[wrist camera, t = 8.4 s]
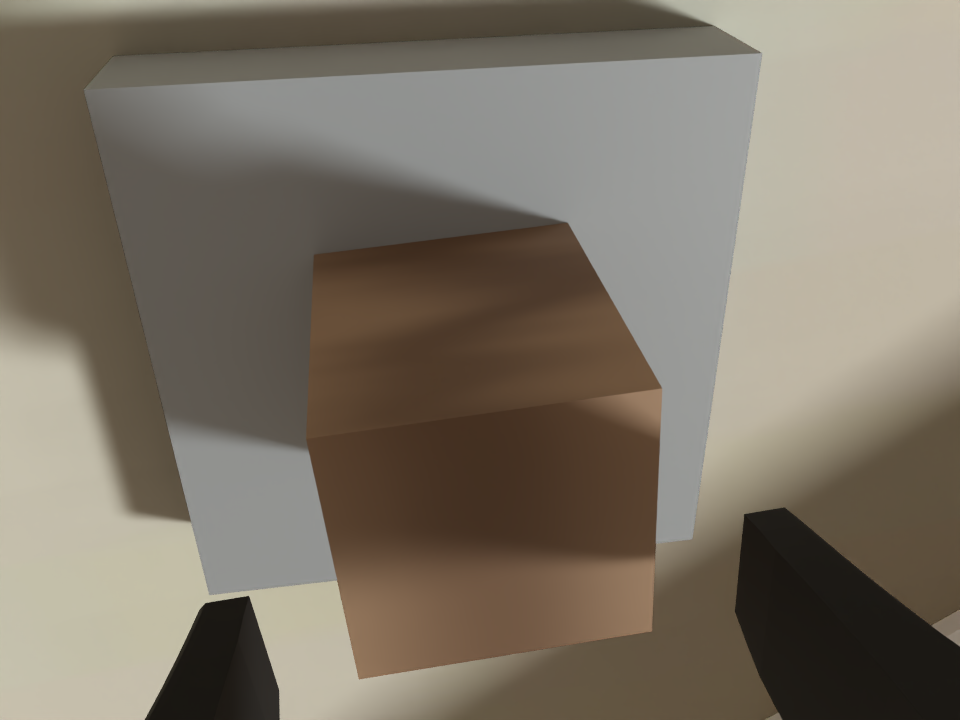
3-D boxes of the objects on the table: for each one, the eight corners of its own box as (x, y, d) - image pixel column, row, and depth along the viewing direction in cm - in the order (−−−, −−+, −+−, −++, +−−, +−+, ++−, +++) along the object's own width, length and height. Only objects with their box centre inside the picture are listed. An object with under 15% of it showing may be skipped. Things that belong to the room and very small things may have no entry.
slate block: (705, 20, 19) (762, 53, 16) (656, 466, 25) (692, 539, 23) (119, 49, 18) (83, 90, 15) (222, 512, 24) (209, 595, 21)
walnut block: (567, 222, 18) (662, 389, 13) (572, 427, 20) (651, 631, 15) (314, 254, 17) (306, 438, 12) (352, 457, 20) (358, 679, 15)
